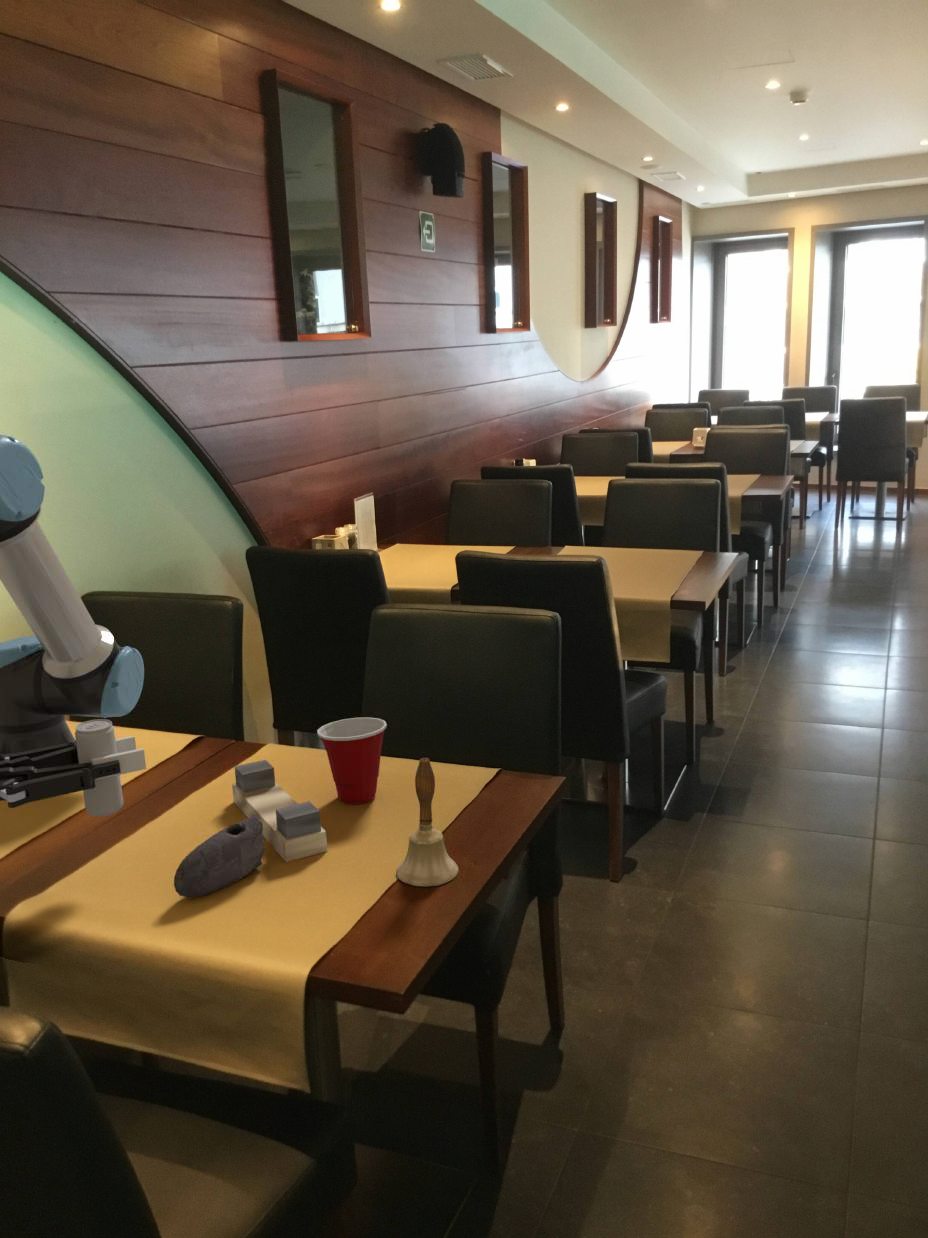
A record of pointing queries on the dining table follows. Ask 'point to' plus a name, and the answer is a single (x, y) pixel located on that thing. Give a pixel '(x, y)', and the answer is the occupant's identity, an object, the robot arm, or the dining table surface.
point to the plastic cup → (354, 756)
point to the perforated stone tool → (221, 859)
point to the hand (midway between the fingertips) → (139, 752)
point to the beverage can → (91, 743)
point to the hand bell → (426, 840)
